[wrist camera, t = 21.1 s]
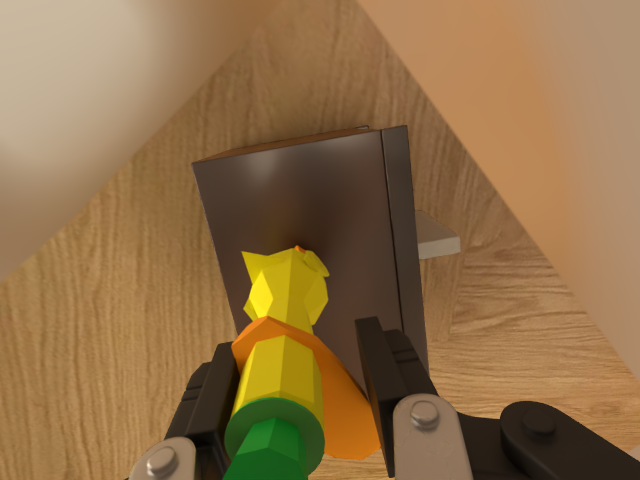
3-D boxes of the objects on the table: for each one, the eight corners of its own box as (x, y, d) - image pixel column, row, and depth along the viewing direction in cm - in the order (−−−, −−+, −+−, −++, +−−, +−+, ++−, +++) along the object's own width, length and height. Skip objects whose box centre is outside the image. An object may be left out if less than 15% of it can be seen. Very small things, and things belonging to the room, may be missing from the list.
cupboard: (367, 125, 26) (407, 124, 17) (390, 316, 31) (432, 402, 22) (229, 149, 26) (189, 163, 17) (274, 337, 31) (263, 433, 21)
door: (409, 140, 26) (459, 147, 18) (418, 240, 28) (465, 285, 20) (359, 149, 26) (387, 159, 18) (372, 248, 28) (402, 296, 20)
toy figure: (370, 294, 19) (471, 560, 7) (318, 334, 19) (336, 636, 8) (283, 197, 17) (239, 348, 6) (228, 244, 18) (89, 466, 6)
